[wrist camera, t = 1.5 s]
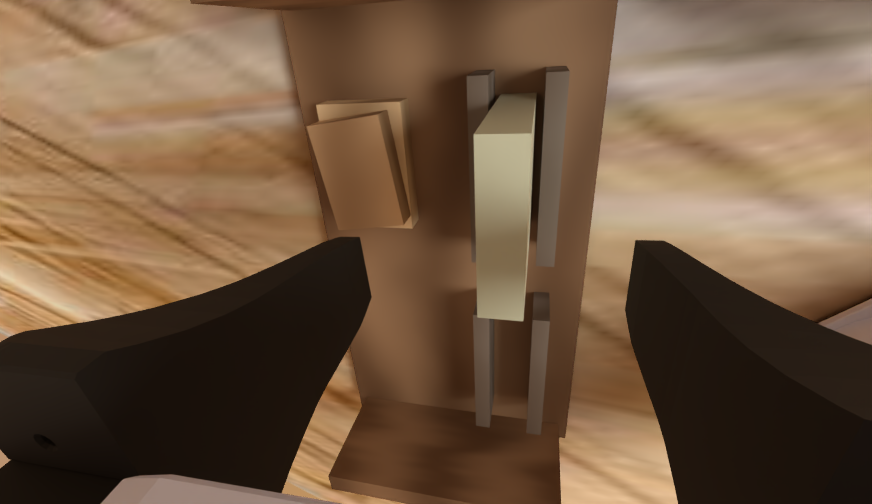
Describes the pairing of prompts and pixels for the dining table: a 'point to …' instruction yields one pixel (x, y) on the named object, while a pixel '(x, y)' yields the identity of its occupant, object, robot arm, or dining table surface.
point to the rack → (461, 237)
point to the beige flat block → (504, 205)
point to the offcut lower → (401, 135)
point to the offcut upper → (361, 170)
